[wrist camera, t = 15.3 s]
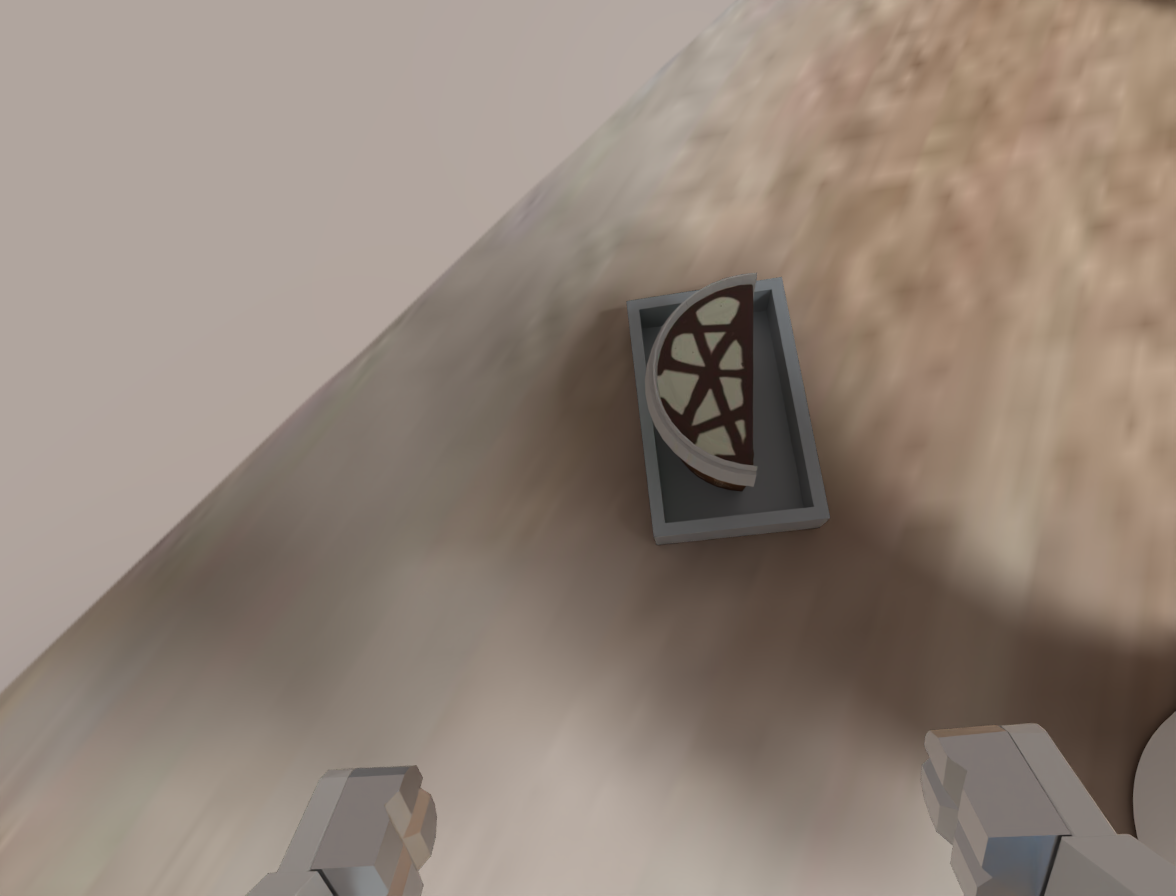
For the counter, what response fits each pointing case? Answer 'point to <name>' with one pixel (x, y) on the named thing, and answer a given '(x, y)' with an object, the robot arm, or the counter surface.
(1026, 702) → the counter surface
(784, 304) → the tray
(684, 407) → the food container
